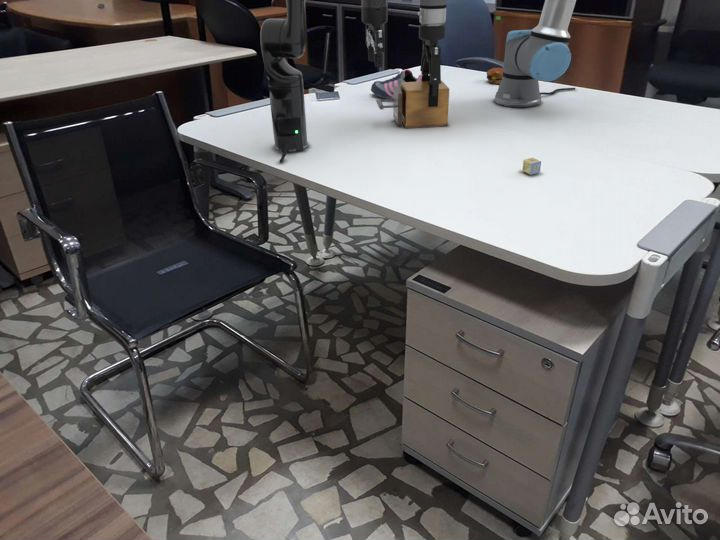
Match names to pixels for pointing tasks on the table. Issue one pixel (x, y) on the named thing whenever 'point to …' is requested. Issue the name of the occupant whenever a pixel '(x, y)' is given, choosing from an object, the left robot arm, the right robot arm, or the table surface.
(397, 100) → the drawer
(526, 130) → the table surface
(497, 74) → the burger
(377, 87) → the running shoe
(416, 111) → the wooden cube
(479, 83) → the table surface
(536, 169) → the alphabet block
